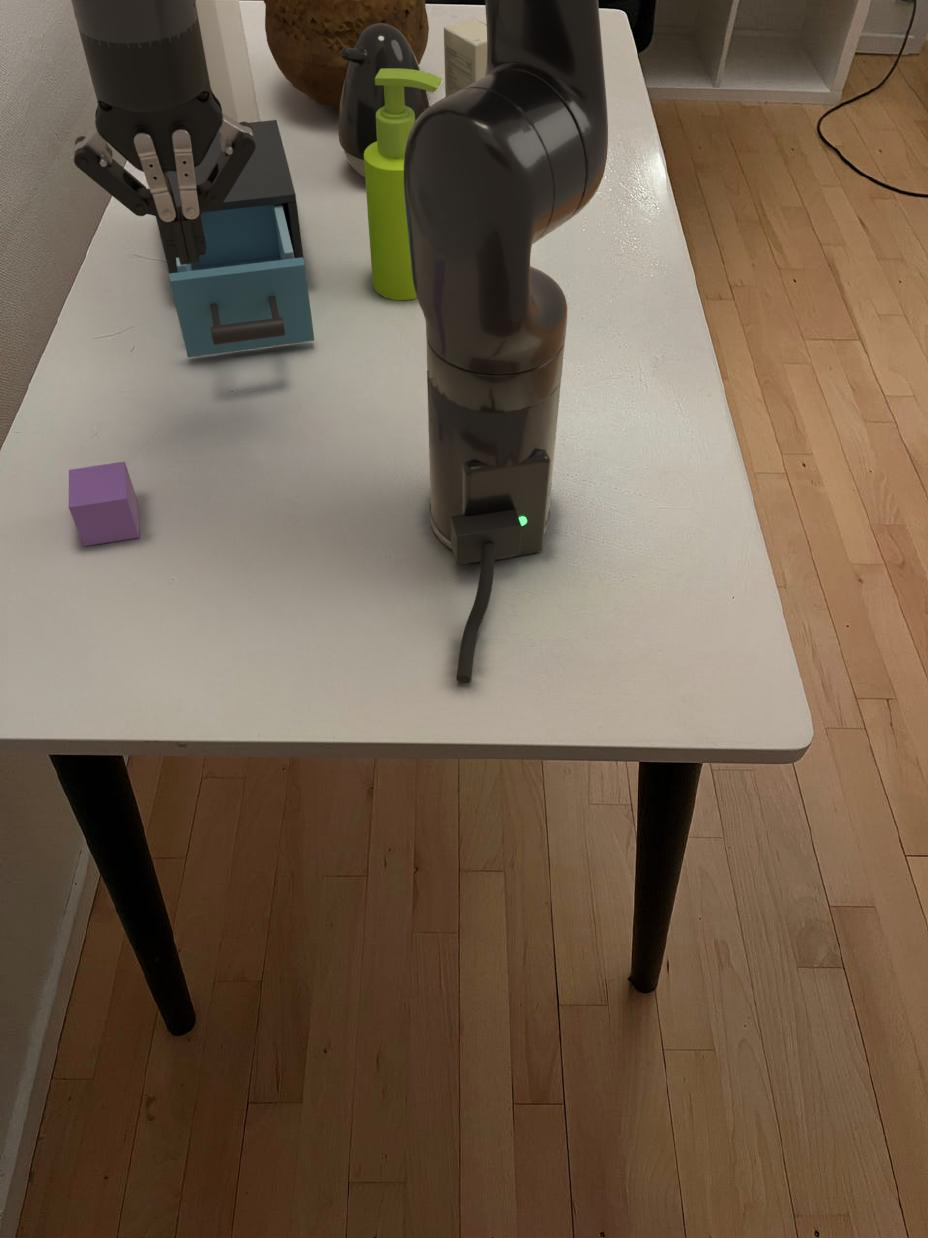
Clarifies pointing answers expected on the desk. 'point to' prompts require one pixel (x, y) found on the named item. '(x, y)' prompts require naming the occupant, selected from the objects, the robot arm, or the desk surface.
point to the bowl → (333, 38)
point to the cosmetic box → (464, 54)
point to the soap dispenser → (391, 184)
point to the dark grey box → (251, 183)
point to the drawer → (243, 285)
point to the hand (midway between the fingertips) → (190, 258)
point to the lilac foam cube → (103, 503)
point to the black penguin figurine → (372, 87)
